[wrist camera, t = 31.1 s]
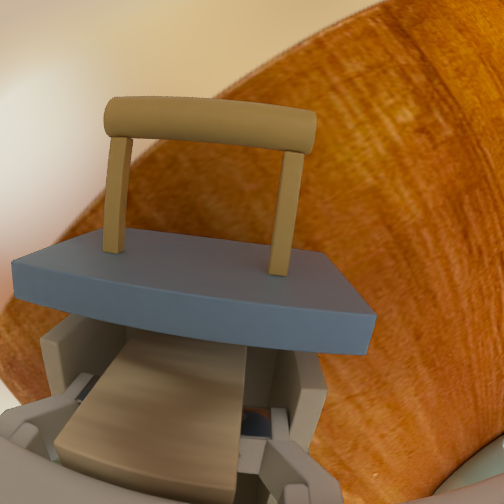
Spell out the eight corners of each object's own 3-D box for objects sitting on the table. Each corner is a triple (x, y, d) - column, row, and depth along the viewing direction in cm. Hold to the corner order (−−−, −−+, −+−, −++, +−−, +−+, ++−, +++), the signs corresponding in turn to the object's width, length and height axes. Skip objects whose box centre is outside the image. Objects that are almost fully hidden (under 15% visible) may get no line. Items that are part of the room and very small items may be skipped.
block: (147, 398, 13) (89, 522, 6) (144, 319, 12) (51, 442, 5) (237, 413, 13) (223, 554, 6) (248, 334, 12) (235, 489, 5)
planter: (430, 547, 13) (583, 430, 11) (408, 490, 20) (544, 392, 18) (446, 570, 16) (553, 497, 14) (433, 533, 23) (531, 467, 21)
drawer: (119, 119, 13) (23, 84, 6) (339, 140, 14) (411, 107, 6) (119, 419, 17) (76, 500, 10) (279, 445, 17) (285, 540, 10)
